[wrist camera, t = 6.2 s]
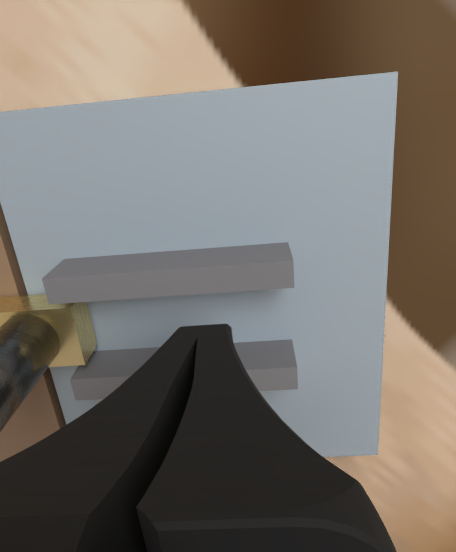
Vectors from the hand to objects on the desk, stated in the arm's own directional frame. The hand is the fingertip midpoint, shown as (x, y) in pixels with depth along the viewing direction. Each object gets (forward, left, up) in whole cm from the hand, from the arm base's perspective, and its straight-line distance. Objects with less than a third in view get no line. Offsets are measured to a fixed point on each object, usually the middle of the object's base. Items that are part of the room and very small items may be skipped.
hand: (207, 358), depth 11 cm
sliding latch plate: (-5, 0, -4) cm, 6 cm away
